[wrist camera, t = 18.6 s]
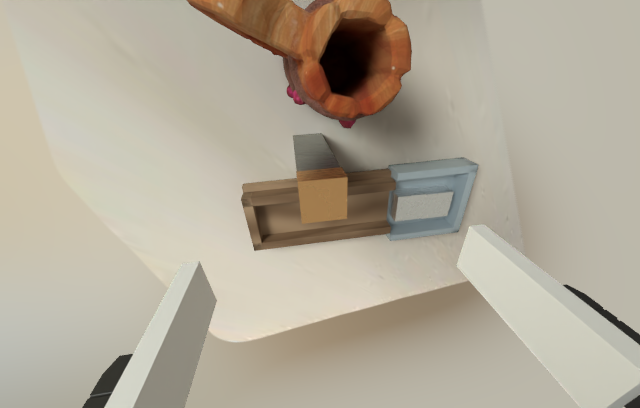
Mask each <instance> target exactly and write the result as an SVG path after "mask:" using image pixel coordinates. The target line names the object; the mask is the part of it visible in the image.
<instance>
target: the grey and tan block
mask: <svg viewBox="0 0 640 408" xmlns="http://www.w3.org/2000/svg"><path fill="white" fill-rule="evenodd" d="M293 141H294V150H295V160H296V169H297V171H296V172H297V182H298V191H299V201H300V210H301V220H302V224H305V223H313V222H322V221H331V220H340V219H347V181H348V177H347V175H346V174H345V172H344V170H343V169H342V167H340V165H339V163H338V162H337V160H336V158H335V156H334V155H333V153H332V151H331V150H330V148H329V146H328V144H327V143H326V141H325V139H324V137H323V136H322V134H321V133H320V134H307V135H294V136H293Z"/></svg>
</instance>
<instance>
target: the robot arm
mask: <svg viewBox="0 0 640 408" xmlns="http://www.w3.org/2000/svg"><path fill="white" fill-rule="evenodd" d="M456 266H457V267H458V268H459V270H460V271H461V272H462V273H463V274H464V275H465V276H466V278H467V279H468V280H469V281H470V282H471V283H472V284H473V286H474V287H475V288H476V289H477V290H478V291H479V292H480V293H481V295H482V296H483V297H484V298H485V299H486V300H487V302H488V303H489V304H490V305H491V306H492V307H493V308H494V310H495V311H496V312H497V313H498V314H499V315H500V316H501V317H502V319H503V320H504V321H505V322H506V323H507V324H508V326H509V327H510V328H511V329H512V330H513V331H514V332H515V334H516V335H517V336H518V337H519V338H520V339H521V340H522V341H523V343H524V344H525V345H526V346H527V347H528V348H529V350H530V351H531V352H532V353H533V354H534V355H535V356H536V358H537V359H538V360H539V361H540V362H541V363H542V364H543V366H544V367H545V368H546V369H547V370H548V371H549V372H550V374H551V375H552V376H553V377H554V378H555V379H556V380H557V382H558V383H559V384H560V385H561V386H562V387H563V388H564V390H565V391H566V392H567V393H568V394H569V395H570V396H571V398H572V399H573V400H574V401H575V402H576V403H577V405H578V406H579V407H580V408H622V407H626V408H640V335H639V334H638V333H637V332H635V331H634V330H633V329H631V328H630V327H629V326H627V325H626V324H625V323H623V322H622V321H618V320H617V317H615V316H614V315H612V314H611V313H610V312H608V311H607V310H604V309H603V307H602V306H600V305H599V304H598V303H596V302H595V301H593V300H592V299H591V298H590V297H588V296H587V295H586V294H584V293H582V292H580V291H578V290H576V289H574V288H572V287H570V286H568V285H562V284H560V283H559V282H558V281H556V280H555V279H554V278H553V277H551V276H550V275H549V274H547V273H546V272H545V271H543V270H542V269H541V268H540V267H538V266H537V265H536V264H535V263H533V262H532V261H531V260H529V259H528V258H527V257H526V256H524V255H523V254H522V253H520V252H519V251H518V250H516V249H515V248H514V247H513V246H511V245H510V244H509V243H507V242H506V241H505V240H504V239H502V238H501V237H500V236H498V235H497V234H496V233H495V232H493V231H492V230H491V229H489V228H488V227H487V226H485V225H484V224H482V225H474V226H469V229H468V232H467V235H466V238H465V241H464V244H463V247H462V250H461V253H460V256H459V259H458V262H457V265H456ZM216 301H217V300H216V298H215V296H214V293H213V291H212V289H211V287H210V284H209V282H208V280H207V277H206V275H205V273H204V271H203V268H202V266H201V264H200V262H199V261H198V262H191V263H183V264H181V266H180V268H179V270H178V272H177V274H176V276H175V277H174V279H173V281H172V283H171V285H170V287H169V289H168V291H167V292H166V294H165V296H164V298H163V300H162V302H161V304H160V305H159V307H158V309H157V311H156V313H155V315H154V317H153V318H152V320H151V322H150V324H149V326H148V328H147V329H146V331H145V333H144V335H143V337H142V339H141V341H140V342H139V344H138V346H137V348H136V350H135V352H134V354H129V355H122V356H119V357H118V358H117V359H116V361H114V362H113V364H112V365H111V366H110V367H109V368H108V369H107V370H106V371H105V372H104V373H103V374H102V376H101V378H100V379H99V381H98V383H97V385H96V386H95V388H94V389H93V391H92V393H91V394H90V396H91V397H90V398H89V399H88V400H87V401H86V403H85V404H84V406H83V408H184V407H185V404H186V401H187V397H188V394H189V391H190V387H191V384H192V381H193V377H194V374H195V371H196V367H197V364H198V361H199V358H200V354H201V351H202V348H203V344H204V341H205V338H206V334H207V331H208V328H209V324H210V321H211V318H212V314H213V311H214V308H215V305H216Z"/></svg>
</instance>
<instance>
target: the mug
mask: <svg viewBox="0 0 640 408" xmlns="http://www.w3.org/2000/svg"><path fill="white" fill-rule="evenodd" d="M187 1H188V2H189V4H190V5H191V6H193V7H194V8H196V9H197V10H199V11H200V12H202V13H204V14H205V15H207V16H208V17H210V18H211V19H213V20H214V21H216V22H218V23H220V24H221V25H223V26H225V27H227V28H228V29H230V30H232V31H234V32H235V33H237V34H239V35H241V36H242V37H244V38H246V39H250V40H251V41H252V42H253V43H255V44H257V45H259V46H261V47H263V48H265V49H268V50H270V51H271V52H272V53H273V54H274V55H279V56H282V57H283V64H284V70H285V74H286V77H287V80H288V82H289V86H288V87H287V94H288V96H289V97H291V98H293V100H294V102H295V103H296V104H299V105H302V104H308V105H309V106H310V107H311V108H313V109H314V110H315V111H317V112H318V113H320V114H322V115H324V116H326V117H329V118H331V119H336V120H339V122H340V124H341V125H342V126H343V127H344V128H351V127H352V126H353V124H354V123H355V121H356V119H358V118H361V117H364V116H368V115H373V114H375V113H377V112H379V111H381V110H382V109H383V108H385V107H386V106H387V105H388V104H389V103H391V102H392V101H393V99H394V98H395V96H396V95H397V93H398V92H399V91H400V89H401V86H402V85H401V82H400V80H401V77H402V76H403V75H404V74H405V73H407V72H408V71H410V70H411V53H412V50H411V41H410V36H409V32H408V28H407V25H406V24H405V23H404V22H402V21H401V20H400V19H399V18H398V17H397V16H394V15H393V14H392V10H391V4H390V2H389V1H388V0H315V1H313V2H312V3H311V4H310V5H309V6H308V7H307V8H306V9H305V10H304V9H302V8H300V7H299V6H297V5H295V3H294V2H293V1H292V0H187Z"/></svg>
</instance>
